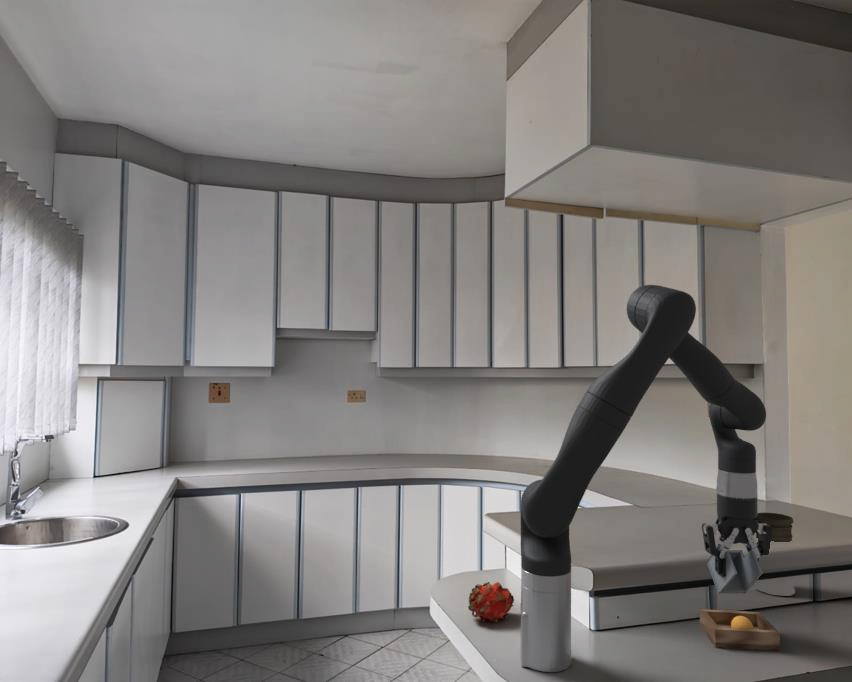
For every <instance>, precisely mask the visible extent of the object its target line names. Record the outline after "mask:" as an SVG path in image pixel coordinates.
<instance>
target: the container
mask: <svg viewBox="0 0 852 682" xmlns="http://www.w3.org/2000/svg"><path fill="white" fill-rule="evenodd" d="M756 520H757V522H758V523H759V524H761V523H765V524H767V525H769V526H771V527H772V536H771V541H774V542H790V541H792V542H793V534H792V529H793V523H794V518H793V517H792V516H790V515H787V514H783V513H777V512H776V513H775V512H757V518H756ZM758 535H759V533H758V531H756V533H755V537H756V538H758Z"/></svg>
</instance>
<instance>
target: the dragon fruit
mask: <svg viewBox="0 0 852 682" xmlns="http://www.w3.org/2000/svg"><path fill="white" fill-rule="evenodd" d="M514 601H515V598H514V595H512V592H511V591H510V589H509V588H506V587H503V586H502V584H501V583H500V582H498V581H497V582H495V583H494V584H491V583H490V581H488V582H484V583H483V585H482V584H478V583H477V584H476V585H475V587H473V588H472V589H471V592H470V593H469V595H468V606H467V607H468V610H469V611H470V612H471V615H472V617H474V618H479V619H480V621H481V622H484V621H486V619H487V620H489V621H490V622H495V623H497V622H498V621H499V619H501V620H505V619H506V618H507V617H508V616H509V615H508V613H509V612H510V610H511V609H512V607H514Z"/></svg>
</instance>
